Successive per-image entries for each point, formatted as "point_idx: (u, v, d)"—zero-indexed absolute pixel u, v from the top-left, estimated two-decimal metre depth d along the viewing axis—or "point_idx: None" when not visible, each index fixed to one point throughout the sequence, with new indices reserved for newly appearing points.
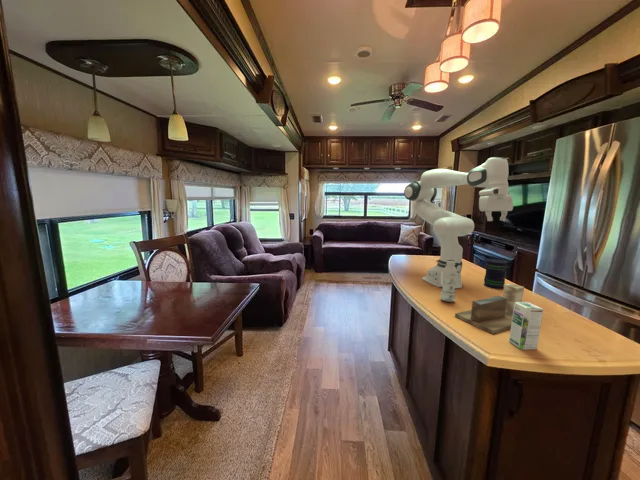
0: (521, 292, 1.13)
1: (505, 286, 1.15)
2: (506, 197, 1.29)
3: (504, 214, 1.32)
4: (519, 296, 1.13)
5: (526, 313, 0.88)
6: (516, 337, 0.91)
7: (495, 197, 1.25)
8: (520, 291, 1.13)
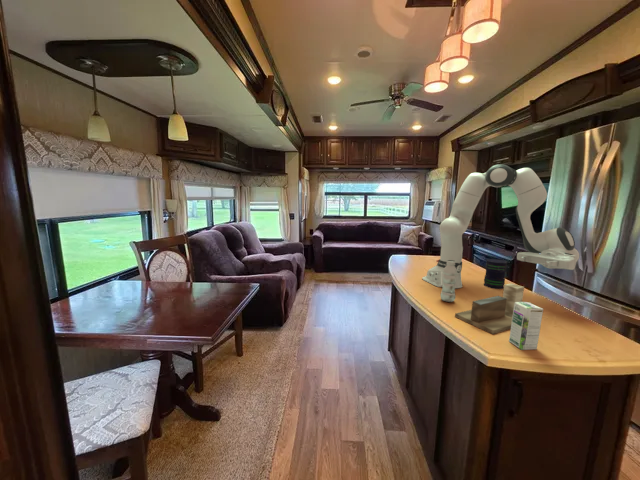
0: (521, 292, 1.13)
1: (505, 286, 1.15)
2: None
3: None
4: (519, 296, 1.13)
5: (526, 313, 0.88)
6: (516, 337, 0.91)
7: None
8: (520, 291, 1.13)
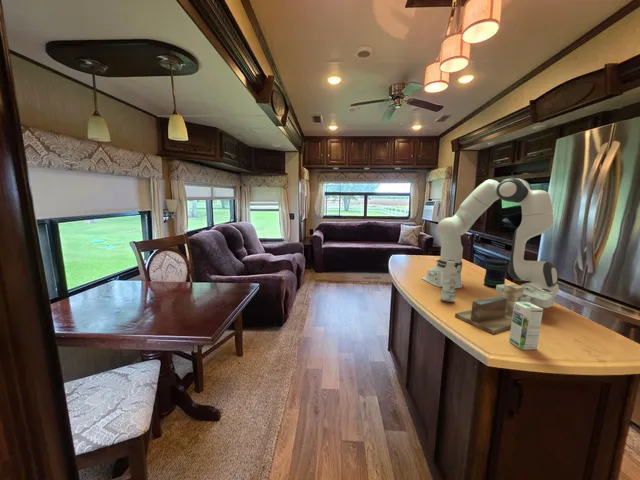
0: (521, 292, 1.13)
1: (505, 286, 1.16)
2: None
3: None
4: (519, 296, 1.13)
5: (526, 313, 0.88)
6: (516, 337, 0.91)
7: None
8: (520, 291, 1.13)
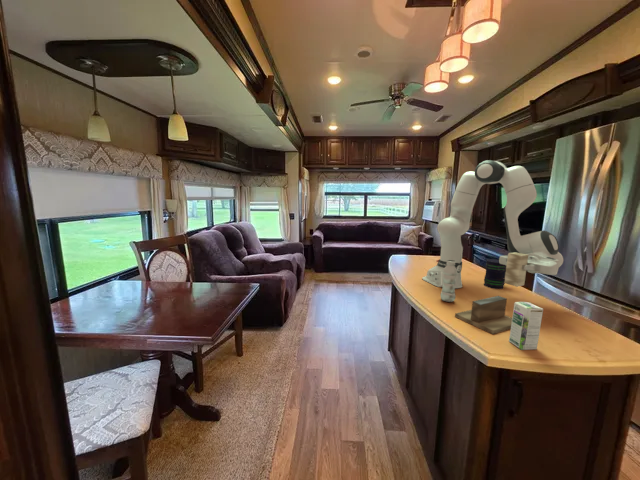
0: (525, 260, 1.11)
1: (509, 254, 1.13)
2: None
3: None
4: (523, 264, 1.11)
5: (526, 313, 0.88)
6: (516, 337, 0.91)
7: None
8: (524, 258, 1.11)
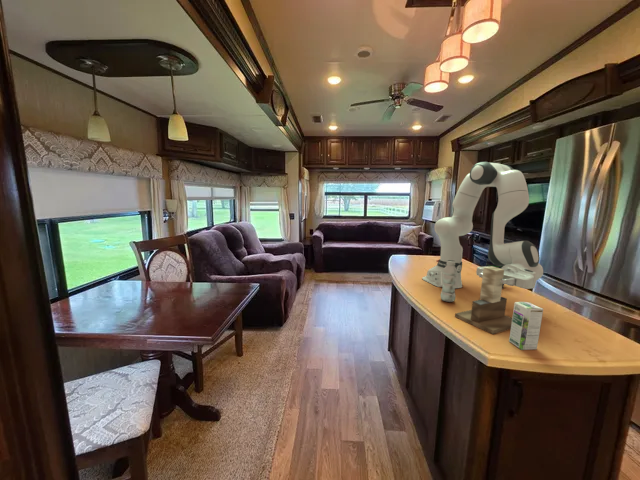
0: (501, 275, 1.06)
1: (484, 269, 1.08)
2: None
3: None
4: (498, 279, 1.05)
5: (526, 313, 0.88)
6: (516, 337, 0.91)
7: None
8: (500, 273, 1.05)
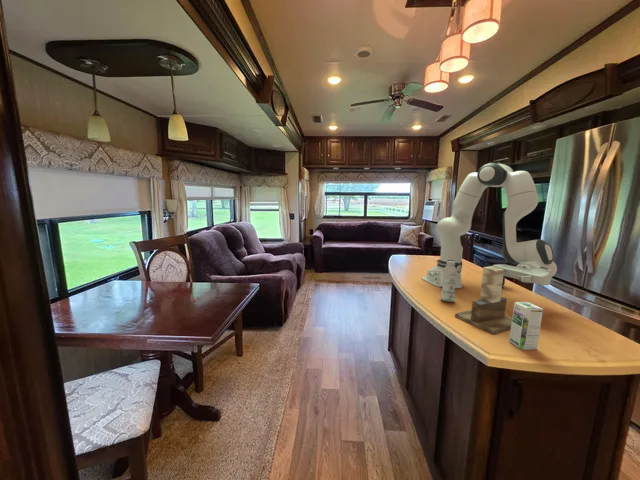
0: (501, 275, 1.06)
1: (484, 269, 1.08)
2: None
3: None
4: (498, 279, 1.05)
5: (526, 313, 0.88)
6: (516, 337, 0.91)
7: None
8: (500, 273, 1.05)
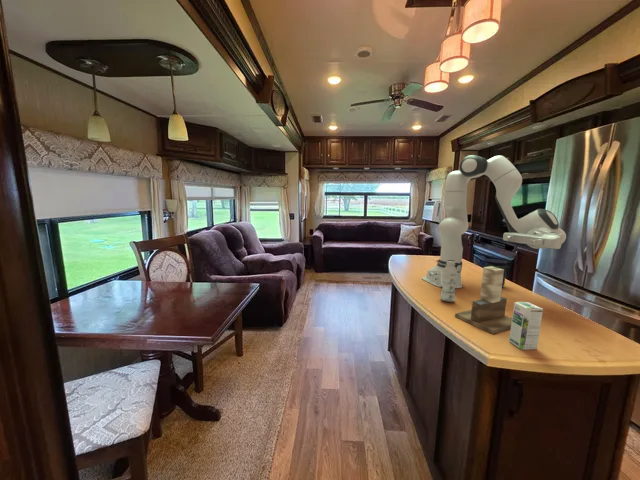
0: (501, 275, 1.06)
1: (484, 269, 1.08)
2: None
3: None
4: (498, 279, 1.05)
5: (526, 313, 0.88)
6: (516, 337, 0.91)
7: None
8: (500, 273, 1.05)
